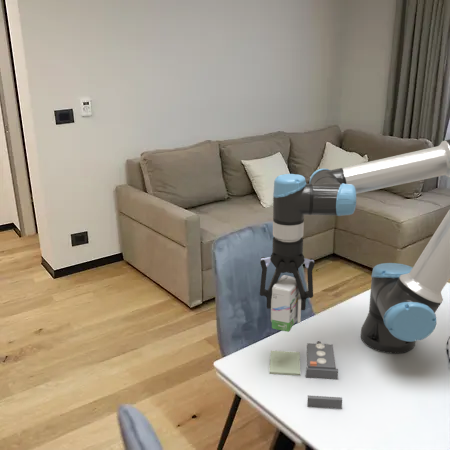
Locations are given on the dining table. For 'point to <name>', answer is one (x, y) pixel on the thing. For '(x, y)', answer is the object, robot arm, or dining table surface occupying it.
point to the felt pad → (285, 363)
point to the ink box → (284, 303)
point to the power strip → (322, 373)
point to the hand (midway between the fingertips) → (285, 319)
